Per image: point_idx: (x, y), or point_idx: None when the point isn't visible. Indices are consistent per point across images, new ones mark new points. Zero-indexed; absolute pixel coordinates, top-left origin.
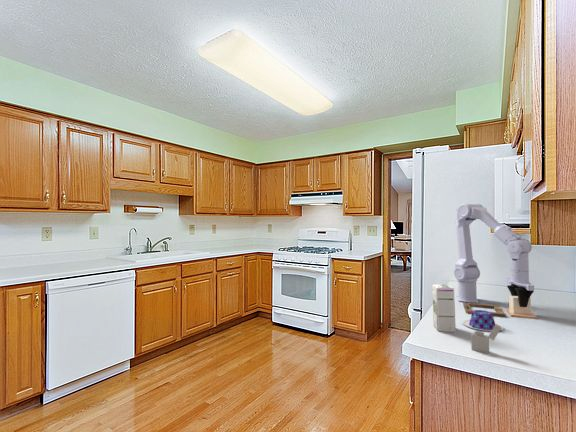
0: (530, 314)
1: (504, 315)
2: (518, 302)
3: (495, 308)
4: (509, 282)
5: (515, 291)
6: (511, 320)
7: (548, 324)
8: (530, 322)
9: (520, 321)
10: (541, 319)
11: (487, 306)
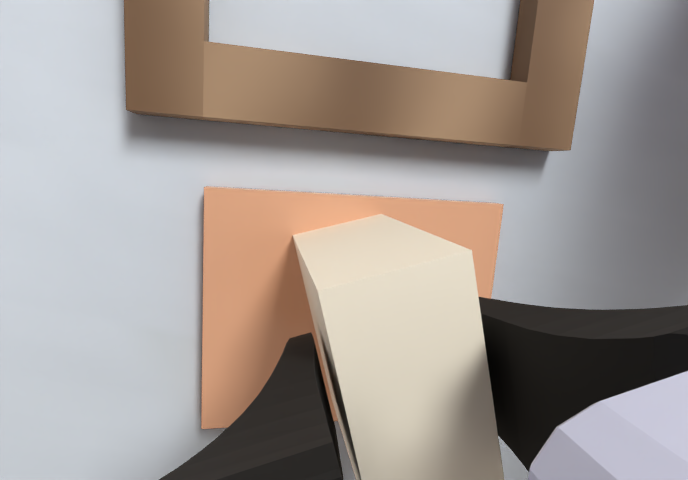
0: None
1: (130, 95)
2: (323, 339)
3: (419, 69)
4: (647, 457)
5: (565, 412)
6: (4, 141)
7: (14, 475)
8: (13, 328)
9: (6, 234)
10: None
11: (530, 12)
